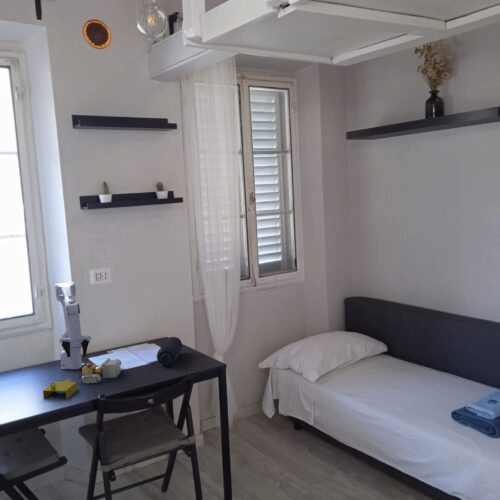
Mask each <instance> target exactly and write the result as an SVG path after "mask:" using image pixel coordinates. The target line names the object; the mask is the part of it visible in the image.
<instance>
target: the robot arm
mask: <svg viewBox="0 0 500 500" xmlns="http://www.w3.org/2000/svg"><path fill="white" fill-rule="evenodd" d="M76 290H77V288H76V283H75V282H74V280H73V281H68V282H59V283H57V282H56V283H55V284H54V292H55V298H56V301H58V302H60V303H61V306H62V307H61V308H62V312H63V313H62V314H63V320H64V325H65V332H64V333H62V335H61V337H60V339H59V343H60V344H61V347H62V350H61V352H60V365H61V367H60V369H61V370H79V369H82V368H83V367H84V366H85V365H86V363H85V362H83V361H82V355H83V357H86V356H87V351H88V346H89V344H90V343H91V342H90V341H91V340H92V336H90V335H87V336H86V335H82V330H81V320H80V315H81V307H80V303H79V302H78V301H77V299H76V292H77V291H76ZM81 350H82V352H81Z"/></svg>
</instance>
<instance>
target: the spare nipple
mask: <svg viewBox="0 0 500 500" xmlns="http://www.w3.org/2000/svg"><path fill="white" fill-rule="evenodd" d="M101 381H102V374H86V375H85V376H83V375H82V376H81V383H83V384H84V385H86V384H87V385H90V384H89V383H92V384H93V383H96V384H98V383H101ZM85 383H86V384H85Z"/></svg>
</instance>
